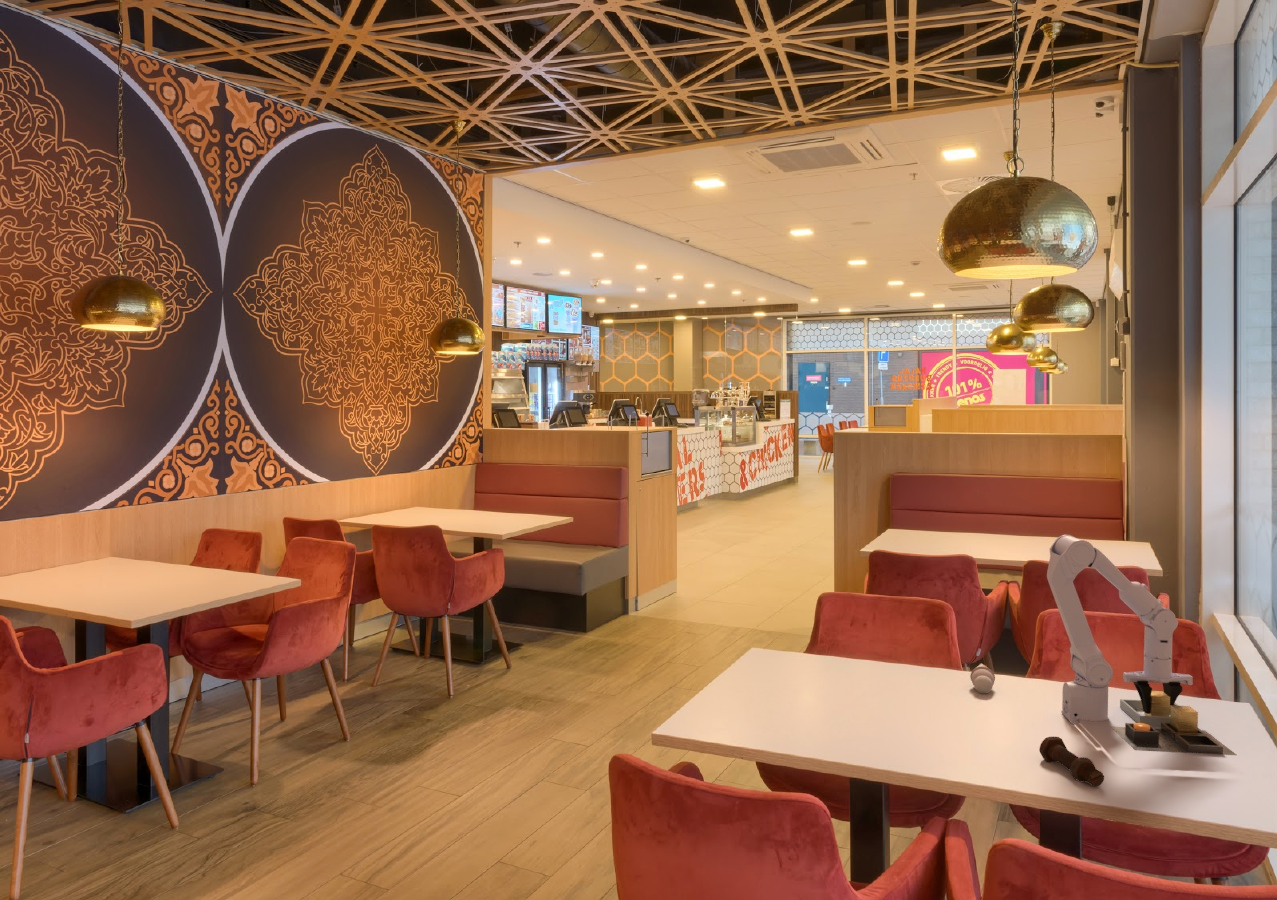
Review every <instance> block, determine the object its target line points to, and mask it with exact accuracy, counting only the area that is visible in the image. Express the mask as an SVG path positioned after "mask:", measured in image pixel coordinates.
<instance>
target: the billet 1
mask: <svg viewBox="0 0 1277 900" xmlns="http://www.w3.org/2000/svg"><path fill="white" fill-rule="evenodd" d="M1143 712H1144V711H1143ZM1143 714H1144V716H1161V717H1170V696H1168V695H1167V694H1166V693H1164V690H1162V691H1161V690H1159V691H1158V690H1152V692H1151V698H1150V714H1146V713H1145V712H1144V713H1143Z"/></svg>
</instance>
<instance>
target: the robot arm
mask: <svg viewBox="0 0 1277 900" xmlns="http://www.w3.org/2000/svg"><path fill="white" fill-rule="evenodd" d="M1087 567H1088V568H1090V569H1094V570H1096V572H1098V573H1099V574H1100V575H1101V576H1102V577H1104V578H1105V580H1107V581H1108V582H1109V583H1111V585H1113V586H1114V587H1115V588H1116V589H1117V590H1118V597H1119V599H1120V600H1121V601H1122V602H1123V603H1124V605H1126V606H1127V607H1128V608H1129V609H1130V610H1132V612H1134V614H1135V615H1137V616H1138V617H1139V620H1140V623H1142V624H1144V639H1143V645H1144V647H1143V670H1142V671H1129V672H1125V671H1124V672H1123V673H1122V681H1124V682H1125V683H1133V685H1134V687H1135V689H1136V691H1137V693H1138V696H1139V698H1140V699H1139V700H1141V702H1142V706H1143V709H1142V712H1145V713H1146V714H1150V698H1151V692H1152V691H1153V688H1152V687H1151V686H1150V683H1154V684H1155V683H1156V684H1162V689H1163V692H1164V693H1166V694H1167V695H1168V696H1170V705H1174V703H1176V701H1177V699H1178V697H1179V696H1180V694H1181V693H1182V692H1183V686H1182V685H1183V684H1184V685H1189V686H1192V685H1194V683H1193V681H1194V679H1193V678H1194V677H1193V676H1192V675H1190V674H1185V673H1175V672H1173V670H1172V669H1173V639H1174V637H1173V634H1174V631H1175V630H1176V629H1177V628H1178V625H1179V620H1177V617H1176V615H1175V613H1174V612H1173V611H1172V610H1171V609H1169V608H1167V607H1164V606H1163V604H1164V601H1162V600H1161V599H1160V598H1157V597H1155V595H1153V594H1152V593H1151V592H1150V591H1149V586H1148V585H1147V584H1145V583H1140V582H1139V581H1131V580H1129V578H1127V576H1126V575H1124V573H1123V572H1121V570H1119V568H1118V567H1117V566H1116V565H1115V564H1114V563H1113V562H1112V561H1111V560H1110V559H1109V558H1108V557H1107V556H1106V555H1105V554H1104V553H1103V552H1102V551H1101V550H1100V549H1099V548H1096V547H1094V546H1093V544H1092V543H1091V542H1089V541H1087V540H1084V539H1080V538H1077V537H1075V536H1073V535H1072V534H1062V535H1060V536H1058V537H1057V538H1056V539H1055V541H1053V543H1052V545H1051V546H1050V547H1049V562H1048V567H1047V572H1046V579H1047V581H1048V585H1049V587H1050V590H1051V592H1052V596H1053V598H1054V601H1055V604H1056V606H1057V609H1058V612H1059V615H1060V617H1061V620H1062V621H1061V622H1062V623H1063V626H1064V629H1065V631H1066V635H1067V637H1068V640H1069V643H1070V647H1069V652H1070V667H1071V669H1072V670H1073V672H1074V673H1075V675H1074V680H1072V681H1066V682H1063V685H1062V703H1061V704H1062V710H1061V711H1060V712H1061V714H1062V715H1063V716H1064V717H1065V718H1066V720H1067V721H1068V722H1070V724H1074V725H1075V724H1076V723H1081V722H1080V721H1079V720H1084V721H1091V722H1103V721H1107V720H1108V719H1109V684H1110V683H1111V682H1112V680H1113V678H1114V669H1113V666H1111V665H1110V663H1109V662H1107V661H1106V659H1105V656H1104V655H1103V652H1102V651H1101V649H1100V648H1099V647H1098V645H1097V643H1096V642H1095V638H1094V636H1093V634H1092V630H1091V628H1090V625H1089V623H1088V619H1087V617H1086V614H1085V611H1084V608H1083V606H1082V603H1081V600H1080V598H1079V594H1078V592H1077V590H1076V586H1075V584H1074V581H1075V579H1076V577H1077V576H1078V574H1080V573H1081V572H1082V571H1083V570H1085V569H1086V568H1087ZM1181 684H1182V685H1181ZM1075 714H1076V715H1075Z"/></svg>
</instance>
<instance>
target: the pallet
mask: <svg viewBox="0 0 1277 900" xmlns="http://www.w3.org/2000/svg"><path fill="white" fill-rule="evenodd" d="M1134 723H1135V722H1134ZM1134 723H1131V722H1125V724H1124V725H1125V726H1110V728H1111V729H1112V730H1113V731H1115V732H1116V734H1118V735H1119V736H1120V737H1121V738H1122V739H1123V740H1124V741H1125V742H1126V743H1127V744H1128V745H1129V746H1130V748H1132V749H1133V750H1134V751H1143V752H1144V751H1145V752H1165V753H1166V752H1167V753H1183V754H1185V753H1187V754H1204V755H1205V754H1206V755H1226V756H1237V753H1235V752H1234V751H1232V750H1231V749H1230V748H1228V747H1227V746H1226V745H1225V744H1223V743H1222V742H1221V741H1219V740H1218V739H1217V738H1216V737H1215V736H1213V735H1212V734H1210V733H1209V732H1207V730H1202V729H1200V728H1199V727H1198V733H1177V732H1175V731H1173V730H1172V729H1171V728H1170V723H1161V726H1160V728H1154V726H1151V725H1150V724H1147V725H1149V726H1150V731H1136V730H1135V729H1134Z"/></svg>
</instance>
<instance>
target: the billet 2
mask: <svg viewBox="0 0 1277 900" xmlns="http://www.w3.org/2000/svg"><path fill="white" fill-rule="evenodd" d="M1198 722H1199V711H1198V710H1195V709H1194V708H1193V707H1192V706H1190V705H1179V706H1174V705H1170V728H1171V729H1172V730H1173V731H1175V732H1177V733H1198V728H1199V725H1198V724H1199V723H1198Z"/></svg>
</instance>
